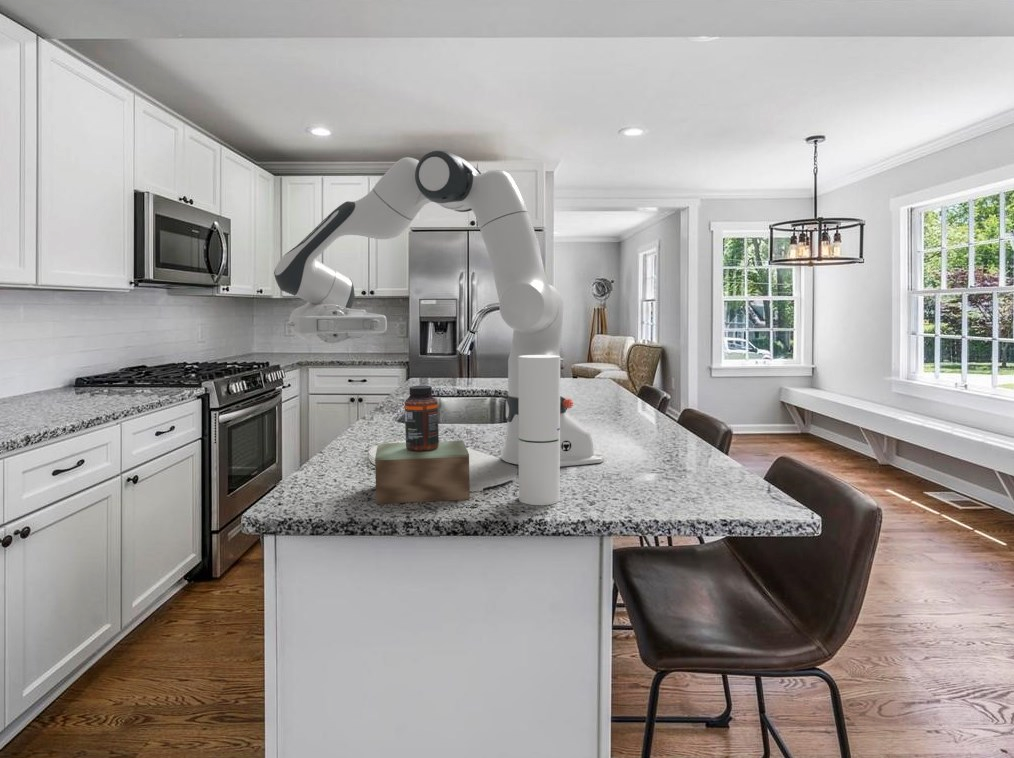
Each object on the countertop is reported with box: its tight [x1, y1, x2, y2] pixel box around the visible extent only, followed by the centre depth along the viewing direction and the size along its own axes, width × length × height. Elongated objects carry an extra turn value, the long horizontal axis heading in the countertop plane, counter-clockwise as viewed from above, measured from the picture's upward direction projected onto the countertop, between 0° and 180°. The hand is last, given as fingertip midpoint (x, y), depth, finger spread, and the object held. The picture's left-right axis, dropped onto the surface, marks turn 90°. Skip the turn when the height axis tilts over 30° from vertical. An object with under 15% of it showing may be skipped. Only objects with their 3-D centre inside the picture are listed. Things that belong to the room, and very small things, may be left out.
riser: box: [374, 440, 471, 505], centre depth 116 cm, size 16×12×8 cm
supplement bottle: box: [404, 384, 440, 451], centre depth 115 cm, size 6×6×11 cm
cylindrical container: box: [518, 355, 561, 506], centre depth 110 cm, size 7×7×25 cm
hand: (356, 324), depth 134 cm, fingers open, 8 cm apart
